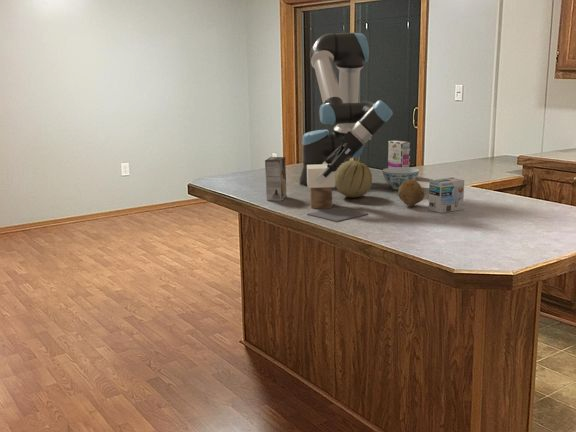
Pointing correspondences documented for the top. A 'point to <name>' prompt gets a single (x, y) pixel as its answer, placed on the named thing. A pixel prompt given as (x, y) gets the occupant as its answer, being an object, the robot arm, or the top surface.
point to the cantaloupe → (353, 179)
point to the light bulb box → (446, 195)
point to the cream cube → (315, 171)
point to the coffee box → (275, 178)
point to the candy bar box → (398, 154)
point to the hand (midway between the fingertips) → (316, 179)
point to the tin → (321, 197)
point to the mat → (337, 214)
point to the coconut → (410, 192)
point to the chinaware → (399, 175)
